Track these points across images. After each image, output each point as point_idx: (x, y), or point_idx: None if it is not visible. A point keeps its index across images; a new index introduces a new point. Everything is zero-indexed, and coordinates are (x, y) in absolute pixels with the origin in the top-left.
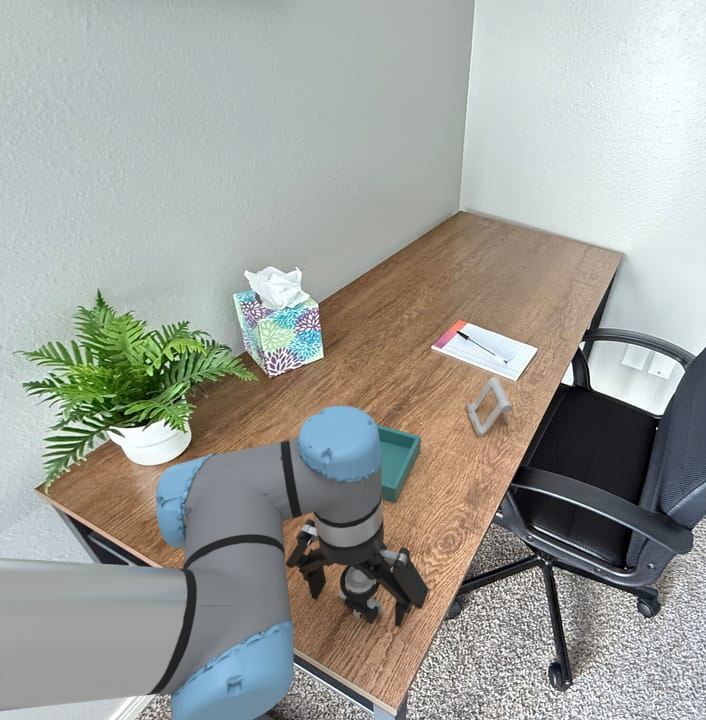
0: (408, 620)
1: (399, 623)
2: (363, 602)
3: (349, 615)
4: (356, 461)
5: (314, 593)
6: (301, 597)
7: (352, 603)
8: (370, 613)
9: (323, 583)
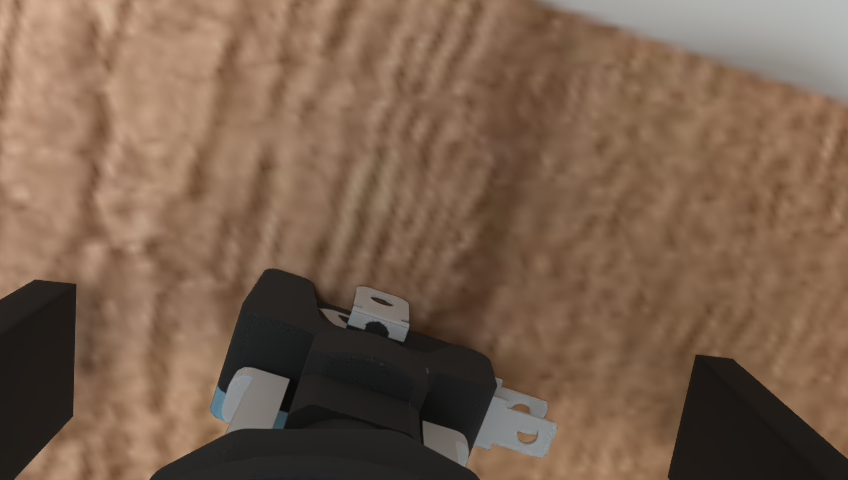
0: None
1: (8, 299)
2: (299, 410)
3: (439, 298)
4: None
5: (748, 398)
6: (792, 351)
7: (411, 381)
8: (254, 331)
9: (689, 470)
